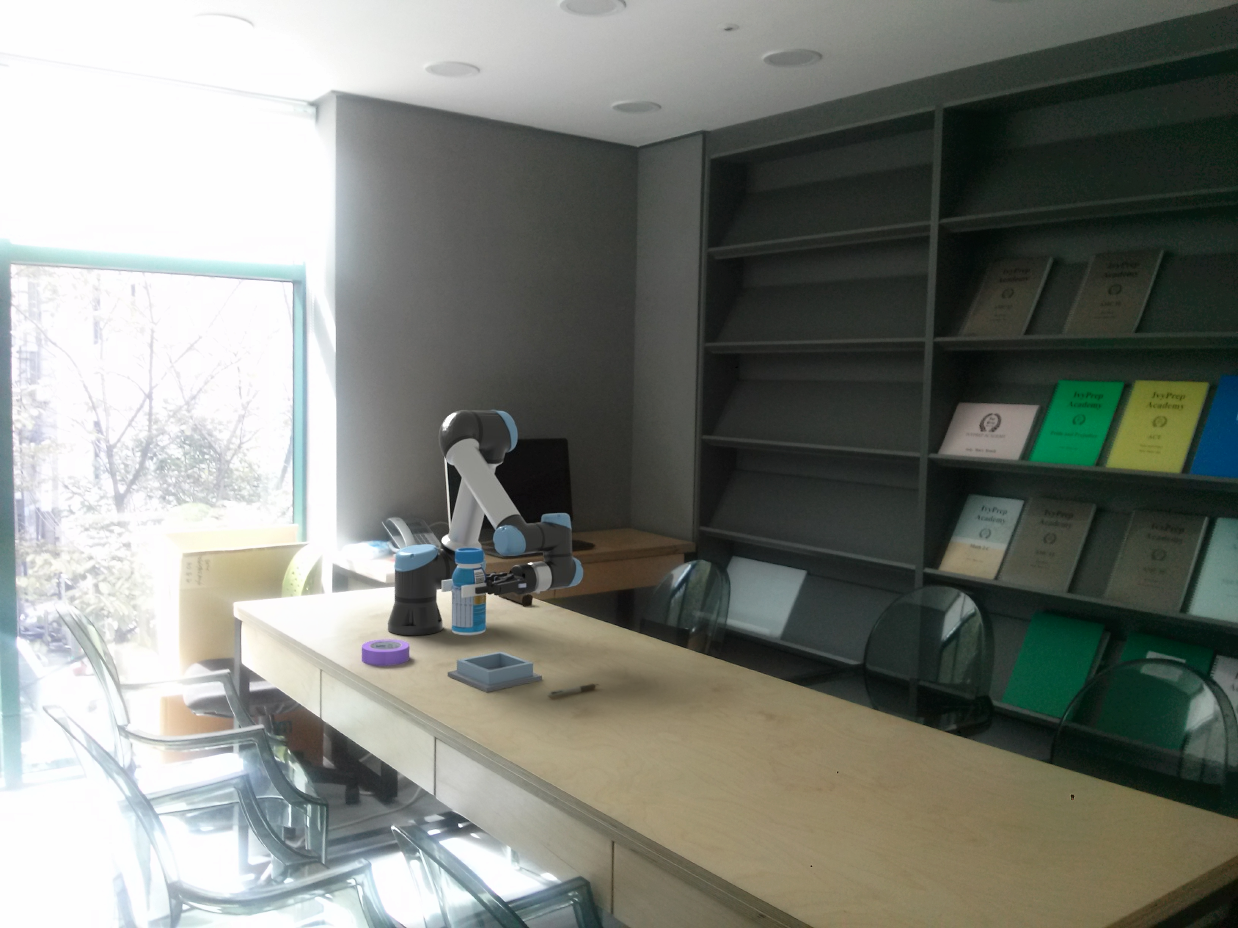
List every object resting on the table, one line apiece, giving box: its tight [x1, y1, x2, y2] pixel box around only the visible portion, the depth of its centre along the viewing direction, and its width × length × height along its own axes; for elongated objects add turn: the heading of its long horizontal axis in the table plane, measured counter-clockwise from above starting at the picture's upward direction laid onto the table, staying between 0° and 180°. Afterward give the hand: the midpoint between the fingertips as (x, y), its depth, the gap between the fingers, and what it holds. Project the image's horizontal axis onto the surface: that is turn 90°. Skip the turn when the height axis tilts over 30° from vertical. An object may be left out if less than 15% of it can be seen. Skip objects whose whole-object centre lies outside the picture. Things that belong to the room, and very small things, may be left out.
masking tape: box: [361, 638, 410, 666], centre depth 255 cm, size 12×12×4 cm
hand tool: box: [497, 592, 534, 607], centre depth 328 cm, size 19×4×5 cm, turn 34°
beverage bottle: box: [450, 548, 487, 636], centre depth 244 cm, size 8×8×20 cm
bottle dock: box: [447, 651, 543, 693], centre depth 241 cm, size 16×16×4 cm
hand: (452, 588), depth 240 cm, fingers closed on beverage bottle, 8 cm apart
